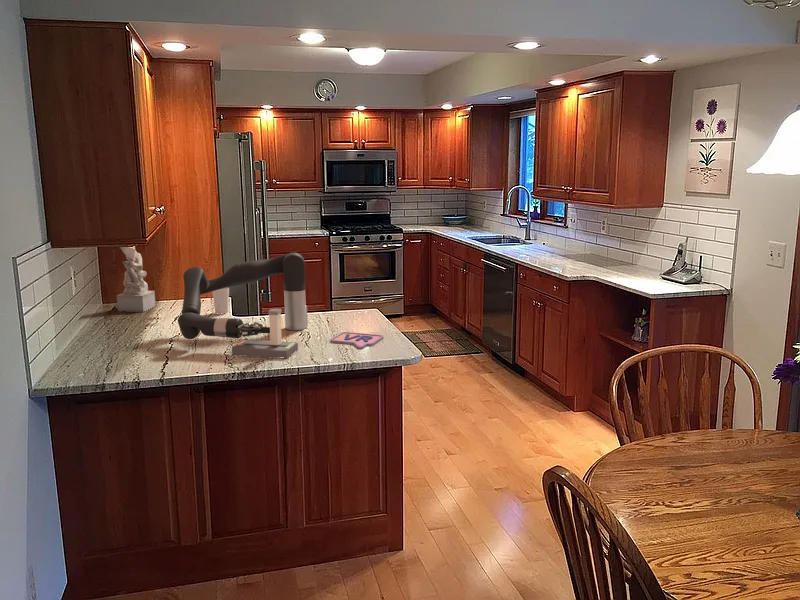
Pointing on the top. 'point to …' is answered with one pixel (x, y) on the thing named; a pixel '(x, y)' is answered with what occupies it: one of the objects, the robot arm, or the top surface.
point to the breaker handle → (275, 326)
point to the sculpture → (134, 285)
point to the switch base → (264, 348)
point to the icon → (357, 339)
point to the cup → (221, 300)
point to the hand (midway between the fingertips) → (271, 330)
